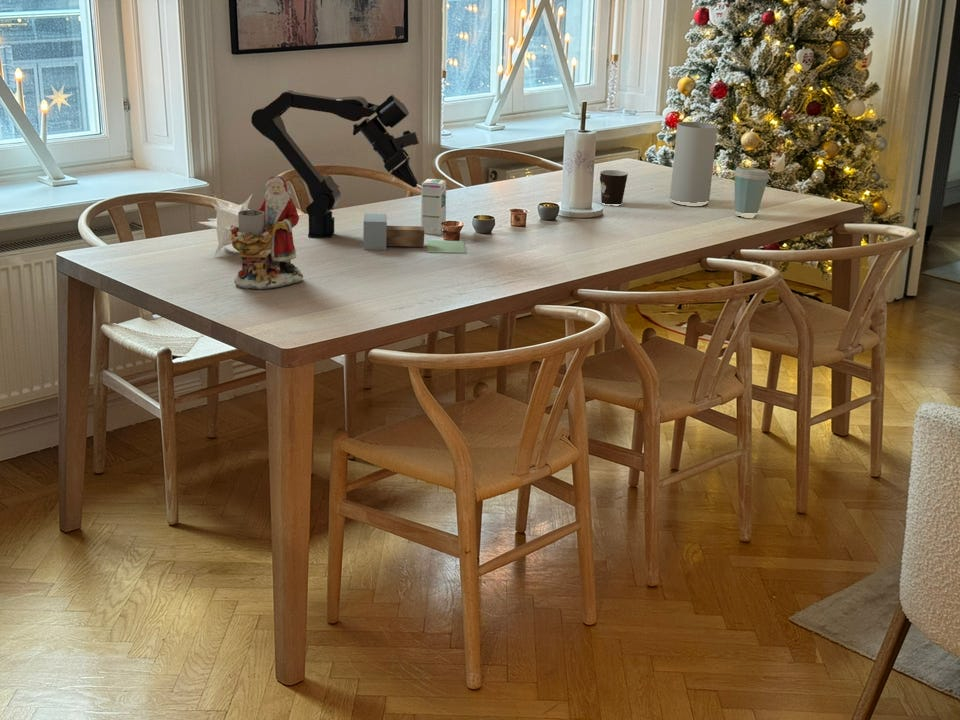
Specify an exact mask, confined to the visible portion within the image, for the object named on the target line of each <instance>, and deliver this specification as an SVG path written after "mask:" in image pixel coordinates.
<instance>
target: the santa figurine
mask: <svg viewBox="0 0 960 720" xmlns="http://www.w3.org/2000/svg"><path fill="white" fill-rule="evenodd" d="M265 188H266V189H267V190H266V191H265V193H264V199H263V201H262V203H261V204H260V206H259V207H258V208H256V209H248V210H243V211H240V212H238V225H239V227H233V226H231V232H232V233H231V235H230V238H231V240H232V244H231V246H232V247H233V249H235V251H237V252H239V257H240V258H241V269H240V270H239V271H238V272H237V275H236V276H235V277H234V278H233V281H234V282H233V283H234V284H235V285H236V286H237V285H238V286H237V287H239V288H241V287H243V288H242V289H245V288H246V289H248V290H267V289H273V288H274V289H275V288H280V287H284V286H289V285H293V284H297V283H300V282H302V281H303V279H304V275H303V273H302V272H301V270H300V269H299V268H298V267H297V266H296V265H295V264H294V263H291V261H292V260H295V259H296V258H297V249H296V247H295V244H294V238H293V237H294V236H293V228H294V227H296V226H297V225H298V223H299V220H300V216H299V213H298V210H297V207H296V205H295V203H294V201H293V199H292V198H291V197H290V196H291V193H292V192H291V191H290V190H289V189H288V187H287V183H286V181H285V179H284V178H283V177H282V176H279V175H273V176H271V177H269V178H268V179H267V182H266V183H265ZM249 288H250V289H249ZM251 288H252V289H251Z"/></svg>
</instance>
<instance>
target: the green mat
mask: <svg viewBox="0 0 960 720" xmlns="http://www.w3.org/2000/svg"><path fill="white" fill-rule="evenodd" d="M426 246H427V247H426V248H427V253H430V254H431V253H432V254H435V253H438V254H467V252H466V251H467V250H466V246H465V243H464V240H443V239H442V240H441V239H439V240H438V239H437V240H434V239H427V240H426Z"/></svg>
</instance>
